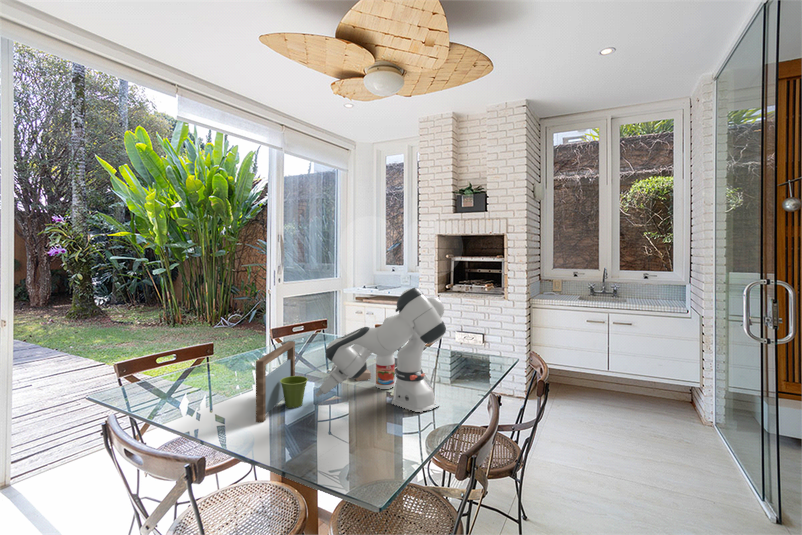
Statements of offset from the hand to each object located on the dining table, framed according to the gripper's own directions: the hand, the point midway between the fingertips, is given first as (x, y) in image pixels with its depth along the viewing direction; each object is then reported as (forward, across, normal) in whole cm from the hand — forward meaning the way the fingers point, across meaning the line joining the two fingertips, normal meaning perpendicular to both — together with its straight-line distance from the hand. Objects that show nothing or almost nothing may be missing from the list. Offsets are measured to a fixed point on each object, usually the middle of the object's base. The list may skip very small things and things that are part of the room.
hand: (319, 391), depth 170 cm
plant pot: (+12, +2, -4) cm, 12 cm away
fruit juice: (-15, -25, +23) cm, 37 cm away
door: (+17, +2, -11) cm, 20 cm away
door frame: (+17, +2, -9) cm, 19 cm away
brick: (-4, -42, +12) cm, 44 cm away
